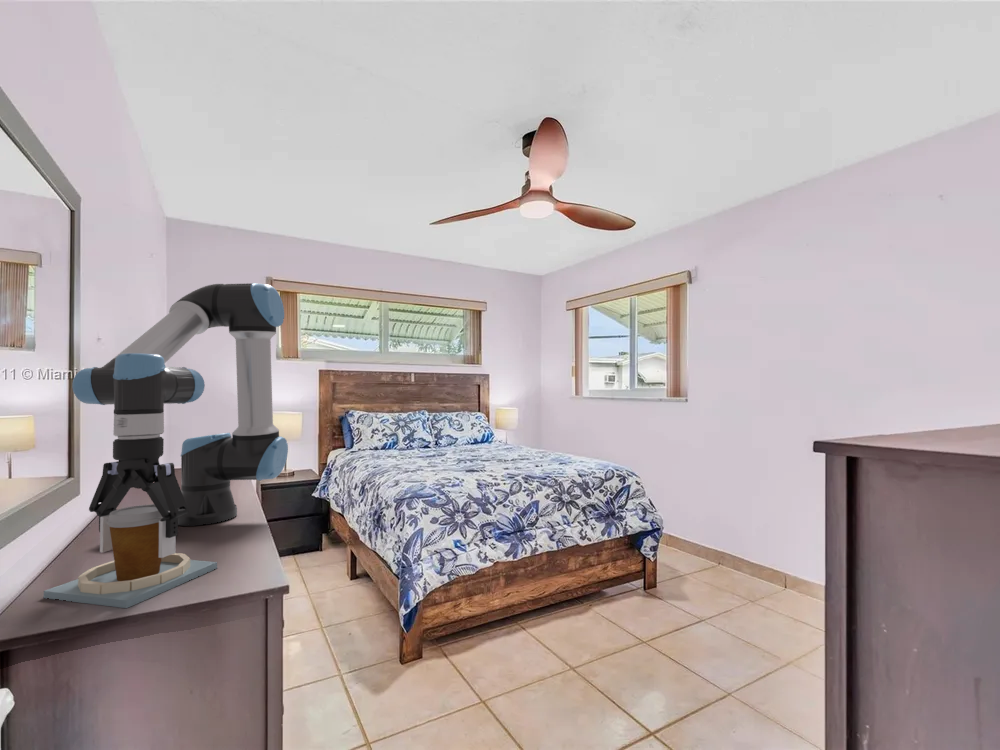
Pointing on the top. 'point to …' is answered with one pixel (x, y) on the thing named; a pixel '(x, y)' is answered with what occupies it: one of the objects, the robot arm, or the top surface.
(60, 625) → the top surface
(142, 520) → the disposable coffee cup
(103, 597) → the collar base
